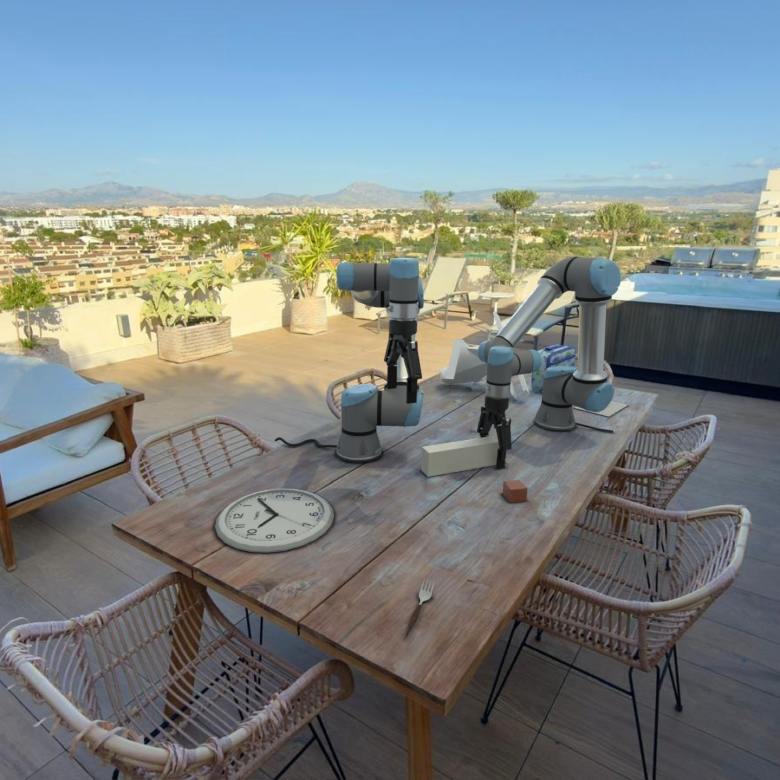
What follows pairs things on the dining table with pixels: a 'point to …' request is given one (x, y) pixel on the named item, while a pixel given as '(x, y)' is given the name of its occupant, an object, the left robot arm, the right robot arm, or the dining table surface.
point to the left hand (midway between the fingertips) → (401, 395)
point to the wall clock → (274, 520)
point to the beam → (459, 456)
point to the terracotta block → (514, 491)
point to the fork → (423, 597)
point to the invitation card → (609, 408)
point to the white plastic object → (471, 365)
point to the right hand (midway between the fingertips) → (491, 461)
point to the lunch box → (552, 362)
